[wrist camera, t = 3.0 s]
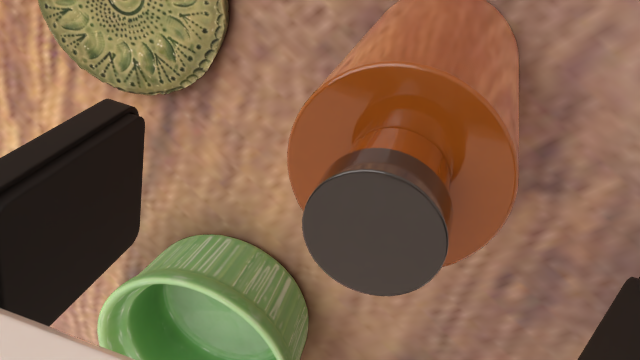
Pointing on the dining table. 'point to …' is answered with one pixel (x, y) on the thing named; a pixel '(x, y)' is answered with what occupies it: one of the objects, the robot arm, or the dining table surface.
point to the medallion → (140, 39)
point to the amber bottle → (410, 146)
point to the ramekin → (207, 306)
